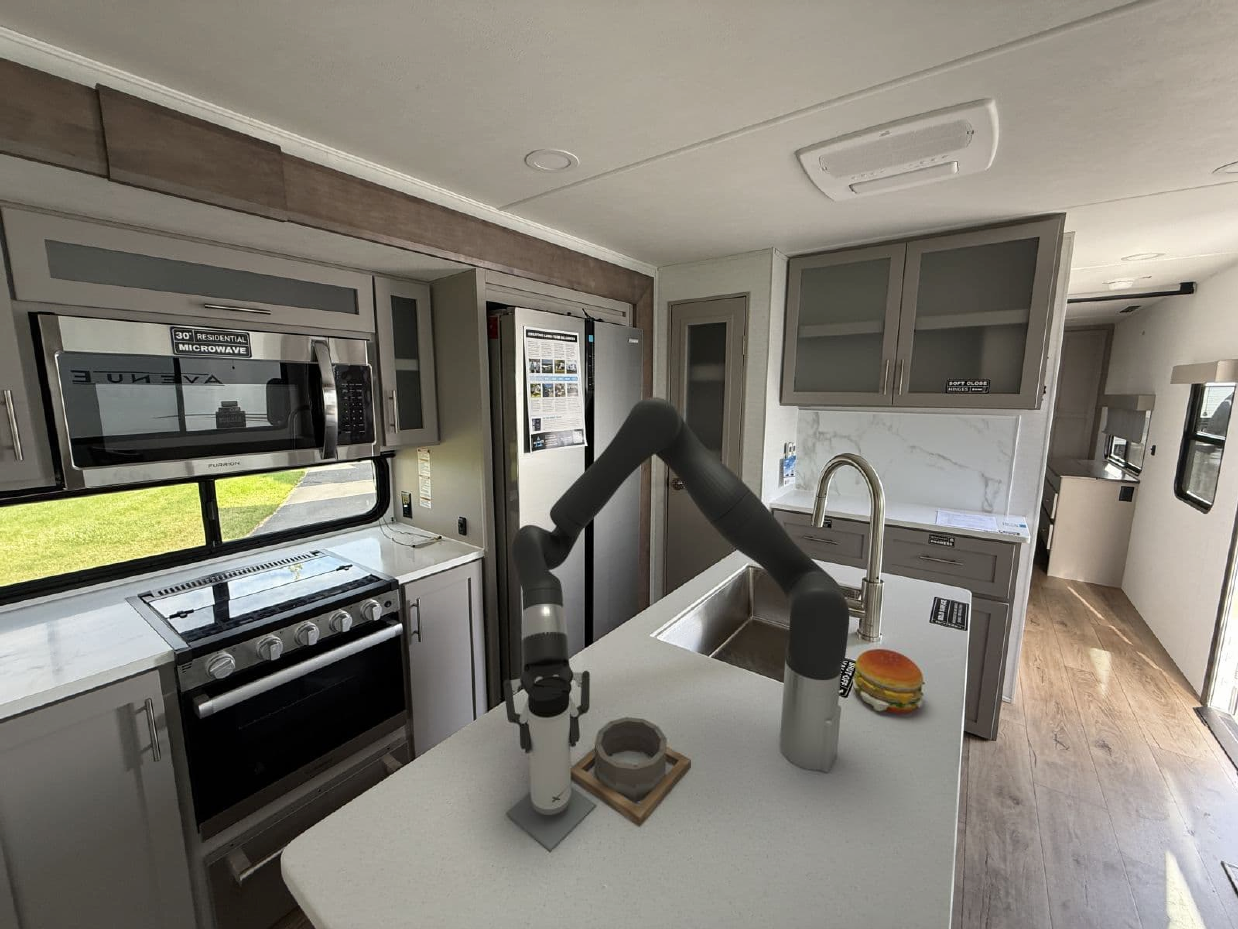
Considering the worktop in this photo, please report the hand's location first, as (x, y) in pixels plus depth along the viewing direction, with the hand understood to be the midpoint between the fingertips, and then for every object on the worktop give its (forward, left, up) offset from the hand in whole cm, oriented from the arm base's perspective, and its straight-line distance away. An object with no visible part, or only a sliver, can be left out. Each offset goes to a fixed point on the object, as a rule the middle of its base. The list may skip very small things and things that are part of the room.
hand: (550, 749), depth 76 cm
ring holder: (-4, -15, -12) cm, 20 cm away
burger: (-34, -65, -13) cm, 74 cm away
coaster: (+1, -1, -12) cm, 12 cm away
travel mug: (+1, -1, -11) cm, 11 cm away
